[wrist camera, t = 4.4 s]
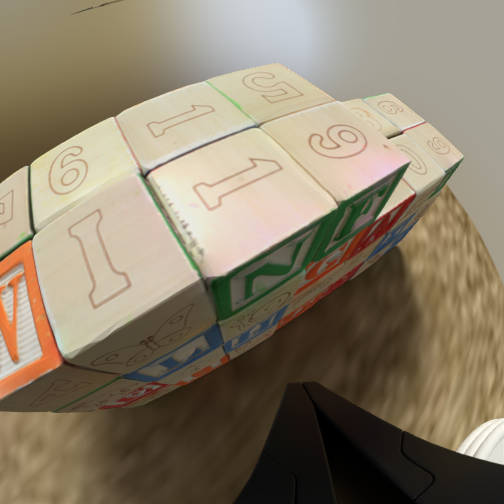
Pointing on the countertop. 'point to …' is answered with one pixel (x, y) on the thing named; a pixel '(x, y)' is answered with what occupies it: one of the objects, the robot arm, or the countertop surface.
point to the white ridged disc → (486, 442)
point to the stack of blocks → (197, 232)
